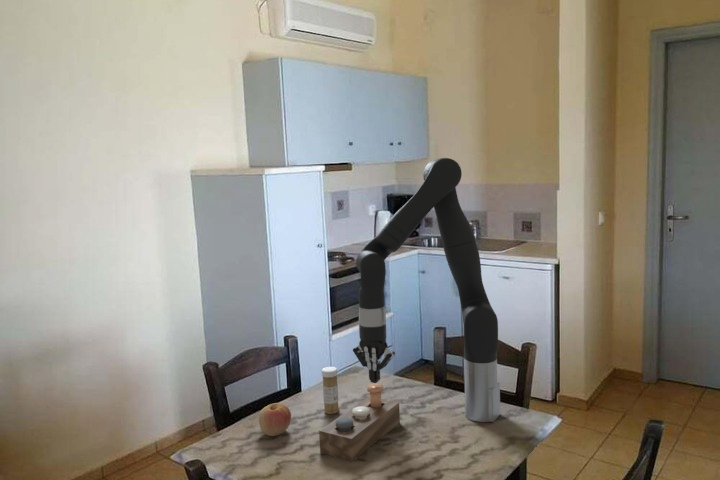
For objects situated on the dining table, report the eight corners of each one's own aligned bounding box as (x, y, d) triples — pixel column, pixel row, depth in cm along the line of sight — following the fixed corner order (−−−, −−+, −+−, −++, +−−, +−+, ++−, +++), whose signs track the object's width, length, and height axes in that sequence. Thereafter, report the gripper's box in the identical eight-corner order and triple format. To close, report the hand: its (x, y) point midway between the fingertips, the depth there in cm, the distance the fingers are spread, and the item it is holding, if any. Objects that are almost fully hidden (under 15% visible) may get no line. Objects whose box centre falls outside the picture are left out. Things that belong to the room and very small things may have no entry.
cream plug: (373, 432, 163) (372, 408, 162) (364, 439, 159) (363, 414, 158) (359, 429, 165) (358, 405, 164) (350, 436, 161) (348, 411, 160)
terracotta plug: (387, 408, 169) (386, 384, 168) (379, 414, 165) (378, 390, 164) (373, 405, 171) (372, 382, 170) (365, 411, 167) (363, 387, 167)
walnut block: (399, 422, 170) (399, 402, 169) (352, 461, 149) (351, 438, 148) (369, 415, 175) (369, 396, 174) (320, 452, 154) (319, 430, 153)
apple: (297, 428, 169) (295, 401, 168) (280, 442, 161) (278, 414, 160) (271, 424, 173) (269, 397, 172) (253, 437, 165) (251, 410, 164)
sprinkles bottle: (333, 407, 183) (330, 365, 181) (342, 411, 179) (340, 368, 177) (321, 411, 180) (318, 368, 178) (330, 416, 176) (327, 372, 174)
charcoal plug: (357, 445, 156) (356, 419, 155) (348, 452, 152) (346, 426, 151) (343, 441, 158) (342, 416, 158) (333, 448, 155) (332, 423, 154)
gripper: (399, 321, 164) (401, 381, 167) (359, 316, 172) (361, 374, 174) (386, 328, 158) (388, 390, 160) (345, 322, 165) (347, 382, 168)
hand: (374, 381), depth 167 cm, fingers closed
